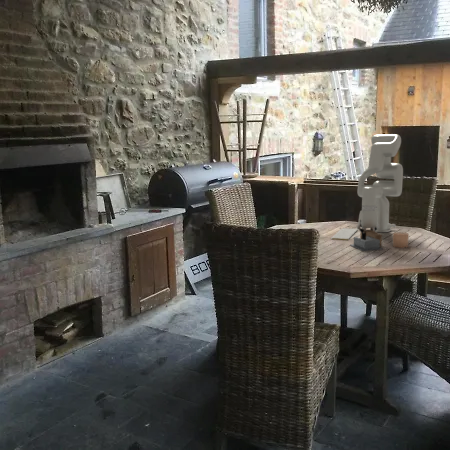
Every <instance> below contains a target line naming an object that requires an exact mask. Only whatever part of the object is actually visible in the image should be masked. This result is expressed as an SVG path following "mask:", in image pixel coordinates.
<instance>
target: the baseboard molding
mask: <svg viewBox="0 0 450 450" xmlns="http://www.w3.org/2000/svg"><path fill="white" fill-rule="evenodd" d="M351 227H352V226H350V225H349V226H348V225H347V226H346V227H343V228H341V227H339V230H338V231H337V232H336V233H335V234H333V236H332V237H330V240H337V241H338V240H339V241H349V240H350V239H351V238H352V237H353V236H354V235H355V234H356V233H357V231H358V229H357V228H355V226H354V227H352V228H351Z"/></svg>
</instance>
